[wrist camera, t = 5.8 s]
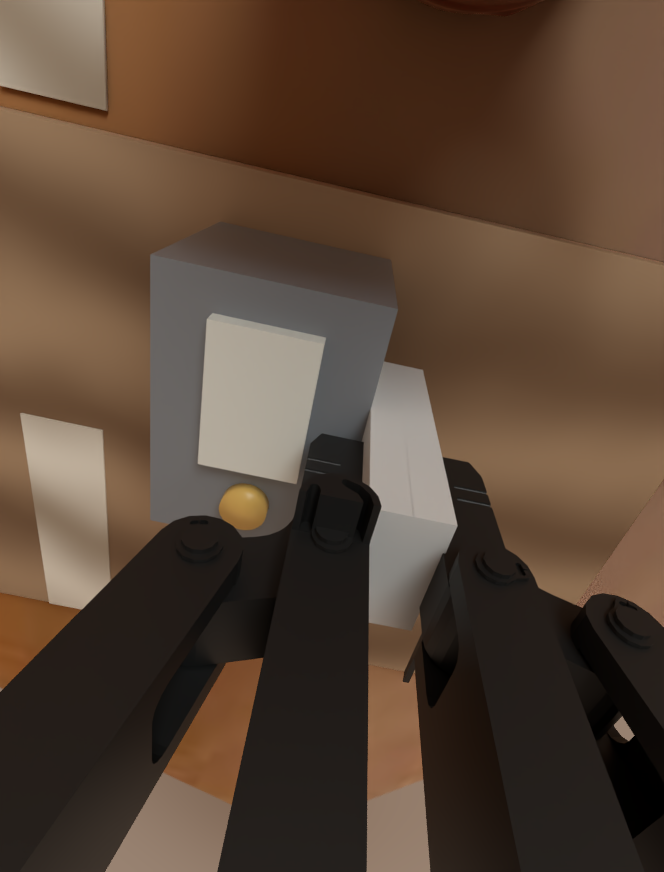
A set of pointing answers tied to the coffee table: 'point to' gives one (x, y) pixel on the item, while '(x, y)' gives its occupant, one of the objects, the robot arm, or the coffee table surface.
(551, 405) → the board
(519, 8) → the mug
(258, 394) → the block
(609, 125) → the coffee table surface
